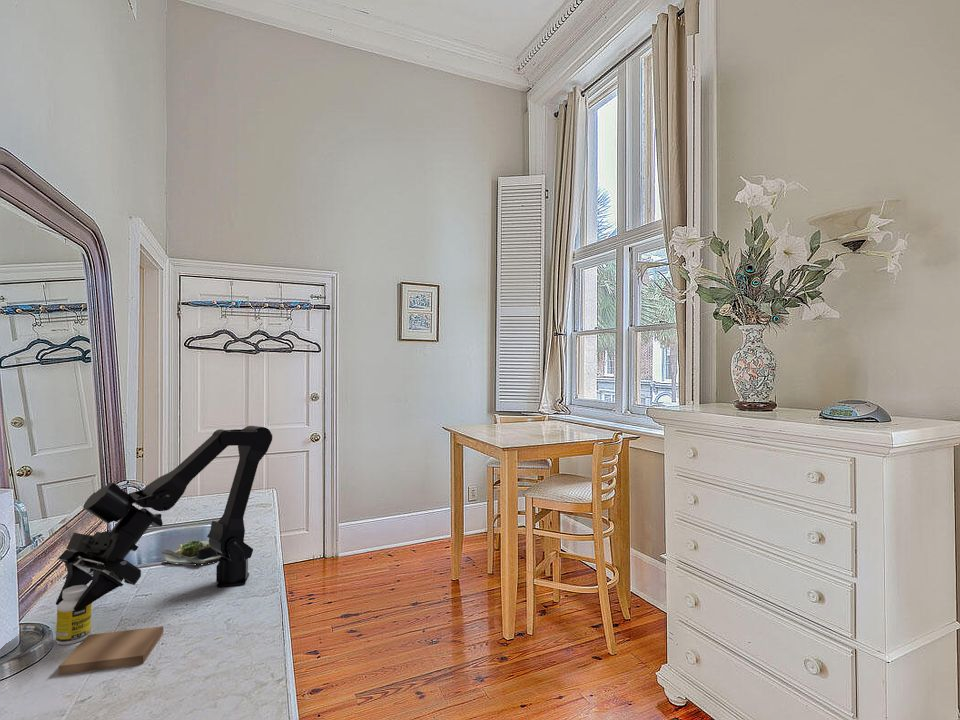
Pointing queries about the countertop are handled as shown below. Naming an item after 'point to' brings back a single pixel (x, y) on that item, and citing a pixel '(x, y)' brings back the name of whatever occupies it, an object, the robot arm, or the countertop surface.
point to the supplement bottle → (72, 617)
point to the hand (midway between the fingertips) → (66, 607)
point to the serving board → (112, 650)
